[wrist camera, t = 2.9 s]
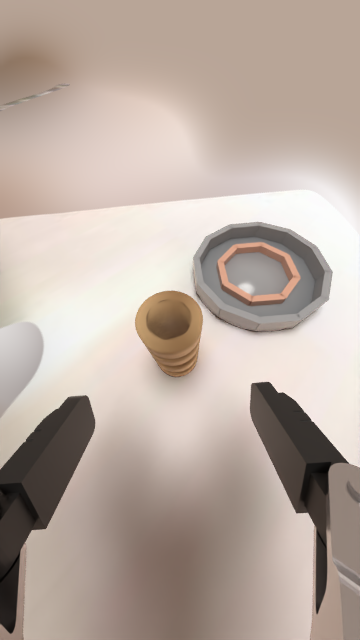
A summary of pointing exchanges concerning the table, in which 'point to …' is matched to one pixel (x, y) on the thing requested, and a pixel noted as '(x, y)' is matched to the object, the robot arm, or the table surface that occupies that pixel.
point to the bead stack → (171, 330)
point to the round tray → (260, 276)
